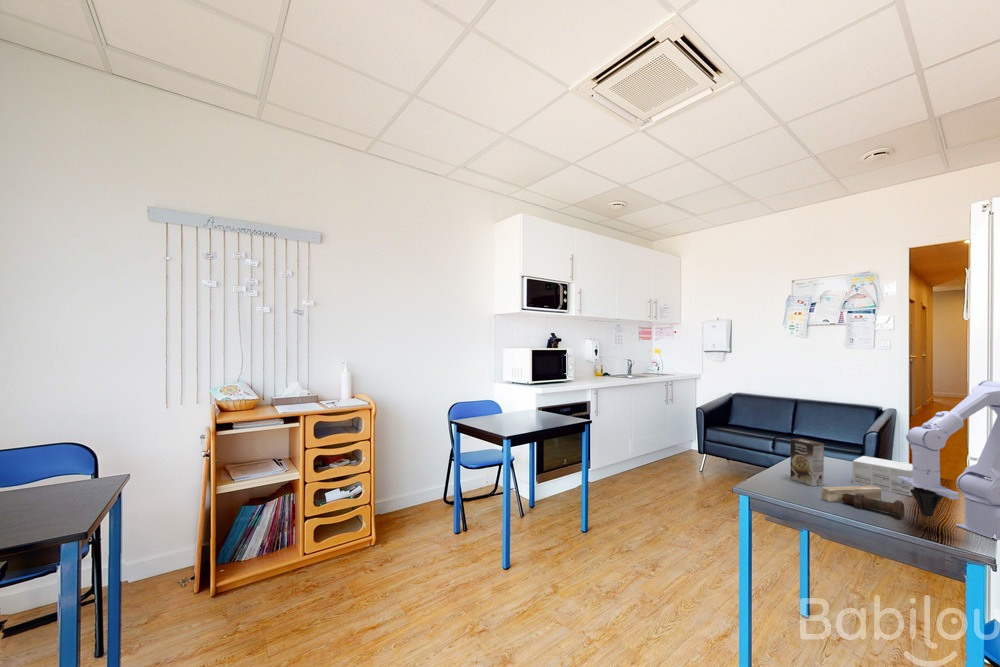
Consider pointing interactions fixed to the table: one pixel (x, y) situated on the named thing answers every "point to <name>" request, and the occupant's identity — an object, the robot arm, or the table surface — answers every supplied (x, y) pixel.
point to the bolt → (875, 504)
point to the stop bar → (850, 492)
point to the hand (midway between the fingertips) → (927, 515)
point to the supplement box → (882, 474)
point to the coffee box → (807, 461)
